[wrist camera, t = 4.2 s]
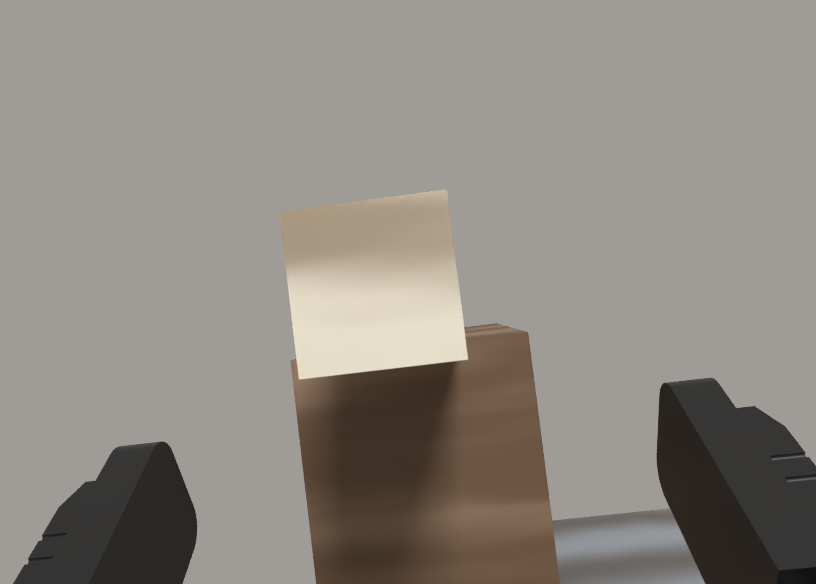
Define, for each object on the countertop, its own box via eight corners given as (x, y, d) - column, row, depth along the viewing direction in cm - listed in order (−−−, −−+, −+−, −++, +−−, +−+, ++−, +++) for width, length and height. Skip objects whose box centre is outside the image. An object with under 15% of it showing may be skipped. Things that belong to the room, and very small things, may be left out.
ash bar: (468, 359, 14) (446, 189, 14) (299, 379, 14) (279, 211, 14) (456, 328, 38) (448, 265, 38) (393, 335, 38) (386, 273, 38)
